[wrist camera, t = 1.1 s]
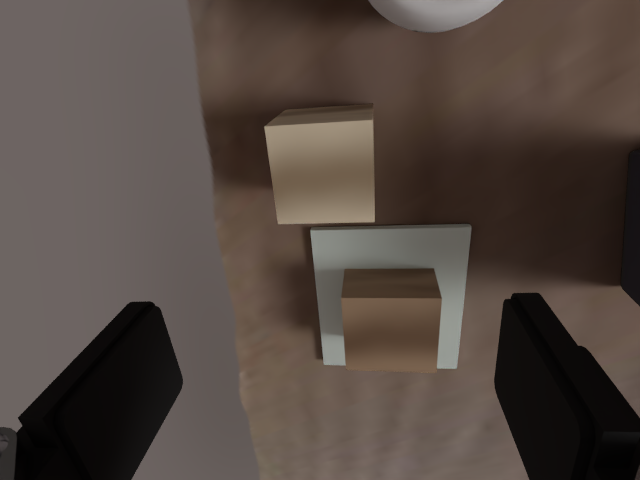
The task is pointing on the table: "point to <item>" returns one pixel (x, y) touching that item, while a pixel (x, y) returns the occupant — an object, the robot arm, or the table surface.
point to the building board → (391, 253)
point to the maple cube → (323, 164)
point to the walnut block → (391, 319)
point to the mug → (433, 13)
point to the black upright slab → (632, 231)
